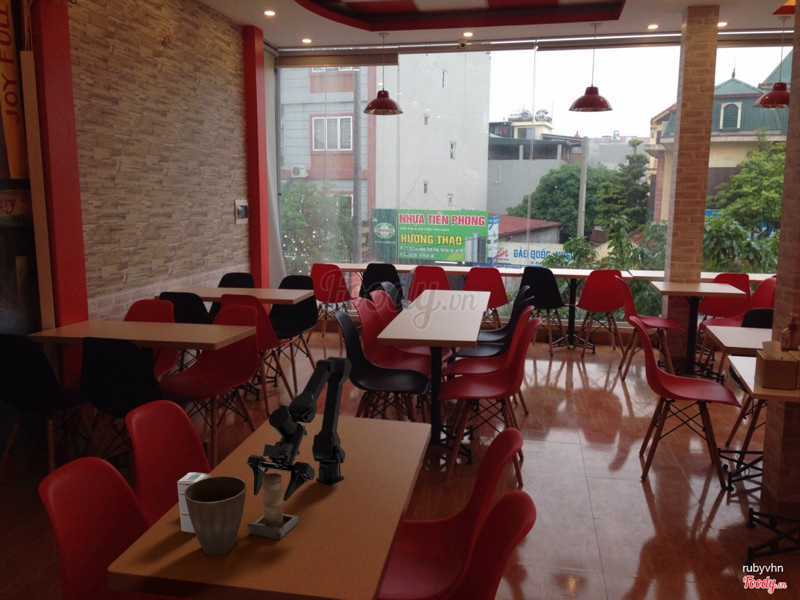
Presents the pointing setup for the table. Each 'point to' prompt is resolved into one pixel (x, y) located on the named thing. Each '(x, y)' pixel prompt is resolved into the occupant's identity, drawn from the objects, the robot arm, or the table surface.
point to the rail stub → (272, 500)
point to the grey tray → (272, 527)
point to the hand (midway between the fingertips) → (269, 497)
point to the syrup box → (182, 486)
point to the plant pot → (216, 511)
